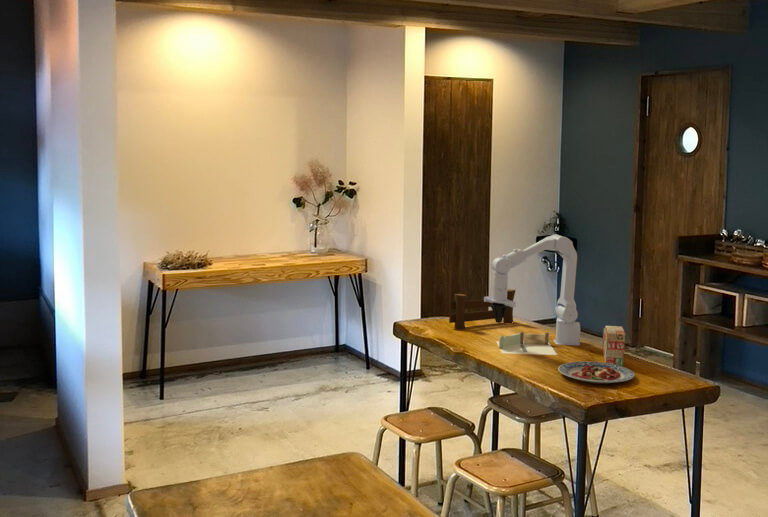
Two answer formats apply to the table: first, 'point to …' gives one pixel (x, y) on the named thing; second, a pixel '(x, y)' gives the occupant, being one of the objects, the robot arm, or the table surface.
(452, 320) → the decorative fence
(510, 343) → the pale green bar
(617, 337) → the stack of blocks
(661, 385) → the table surface
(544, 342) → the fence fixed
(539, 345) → the card
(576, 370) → the ceramic plate
